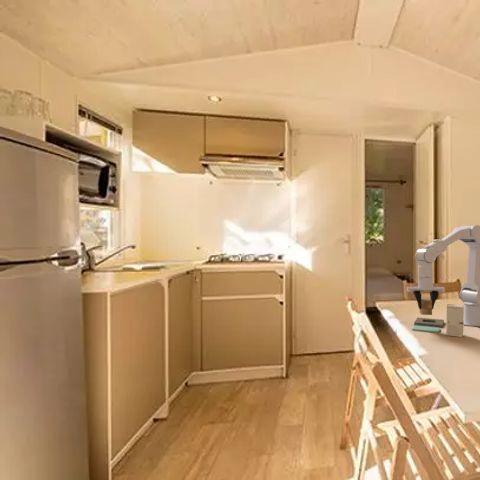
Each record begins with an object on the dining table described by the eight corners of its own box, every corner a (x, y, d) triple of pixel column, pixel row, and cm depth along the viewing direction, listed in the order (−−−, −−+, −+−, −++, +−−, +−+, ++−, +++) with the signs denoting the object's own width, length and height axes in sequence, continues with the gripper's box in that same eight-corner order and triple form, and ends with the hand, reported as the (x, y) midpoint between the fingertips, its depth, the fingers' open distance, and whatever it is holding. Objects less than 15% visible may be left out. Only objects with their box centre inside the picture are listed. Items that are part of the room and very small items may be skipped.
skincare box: (446, 335, 154) (445, 305, 153) (446, 333, 158) (446, 303, 157) (464, 337, 151) (463, 306, 150) (463, 334, 154) (463, 304, 154)
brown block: (429, 312, 165) (429, 299, 165) (432, 314, 161) (431, 300, 161) (419, 312, 166) (419, 298, 166) (421, 314, 162) (421, 300, 162)
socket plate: (443, 322, 175) (443, 319, 175) (441, 327, 166) (441, 325, 166) (417, 319, 181) (417, 317, 181) (414, 325, 172) (414, 322, 172)
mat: (440, 329, 164) (440, 327, 164) (438, 333, 158) (438, 331, 158) (414, 326, 169) (414, 325, 169) (412, 330, 163) (412, 328, 163)
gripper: (441, 275, 165) (442, 307, 165) (405, 275, 168) (405, 306, 169) (446, 277, 158) (446, 310, 158) (408, 277, 162) (408, 309, 162)
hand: (425, 308), depth 163 cm, fingers closed on brown block, 4 cm apart
